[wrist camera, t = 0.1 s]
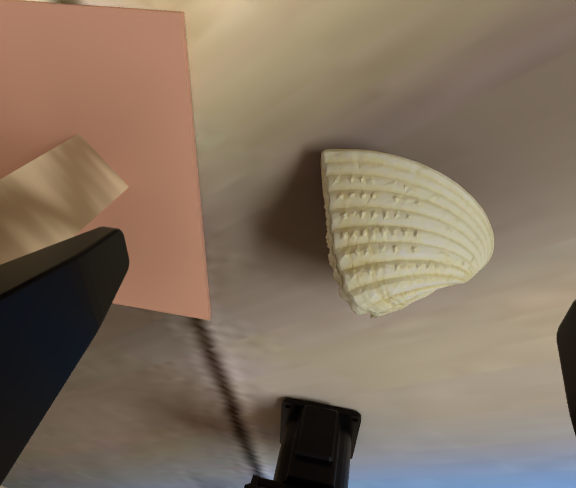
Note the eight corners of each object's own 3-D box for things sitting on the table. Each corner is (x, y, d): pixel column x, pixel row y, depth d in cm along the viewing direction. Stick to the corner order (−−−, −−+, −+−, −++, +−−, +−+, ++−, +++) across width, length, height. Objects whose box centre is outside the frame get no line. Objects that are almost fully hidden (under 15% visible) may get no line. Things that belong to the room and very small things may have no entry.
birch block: (129, 186, 26) (10, 293, 18) (75, 228, 29) (-49, 336, 21) (79, 133, 24) (-75, 222, 16) (27, 182, 27) (-126, 279, 19)
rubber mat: (211, 316, 32) (209, 320, 31) (-3, 279, 34) (-7, 282, 34) (183, 12, 20) (180, 13, 20) (-137, -11, 23) (-144, -11, 22)
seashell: (404, 332, 26) (291, 328, 22) (386, 204, 28) (283, 180, 25) (535, 306, 19) (407, 293, 15) (495, 144, 22) (379, 98, 18)
